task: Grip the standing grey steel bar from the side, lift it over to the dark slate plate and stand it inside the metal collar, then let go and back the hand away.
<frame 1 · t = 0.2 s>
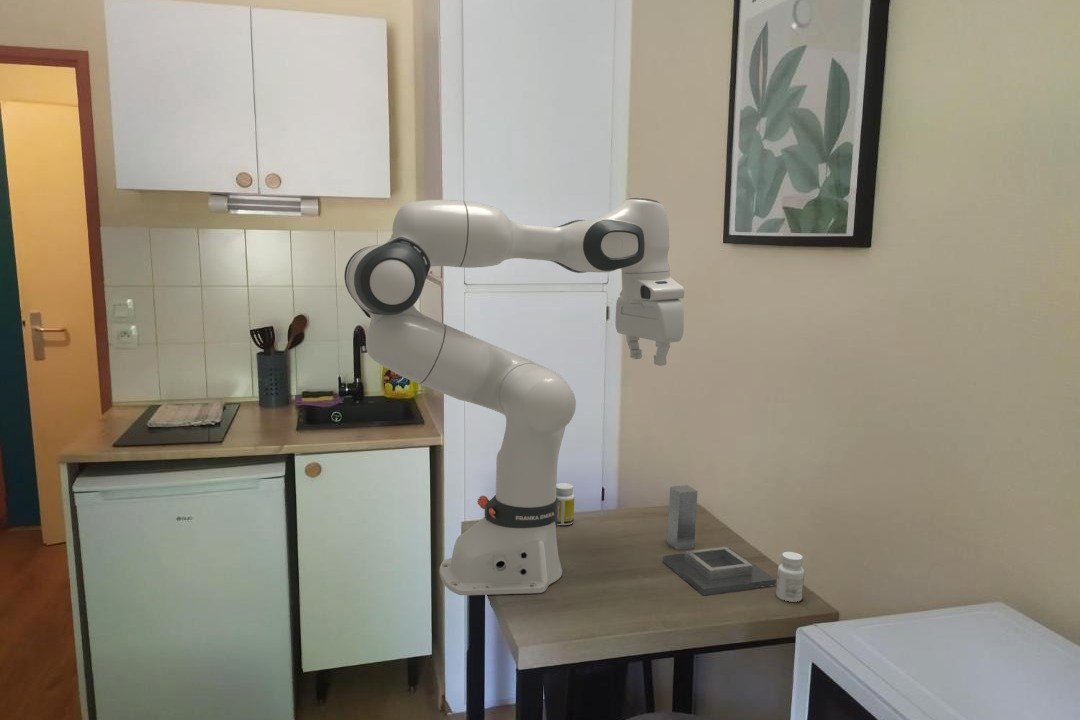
hand: (647, 361, 142), 39 cm above the table, tool pointing down, fingers open, 8 cm apart
steel bar: (680, 545, 156), on the table
pill bottle: (788, 598, 134), on the table
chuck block: (717, 573, 143), on the table
supplement bottle: (562, 523, 166), on the table
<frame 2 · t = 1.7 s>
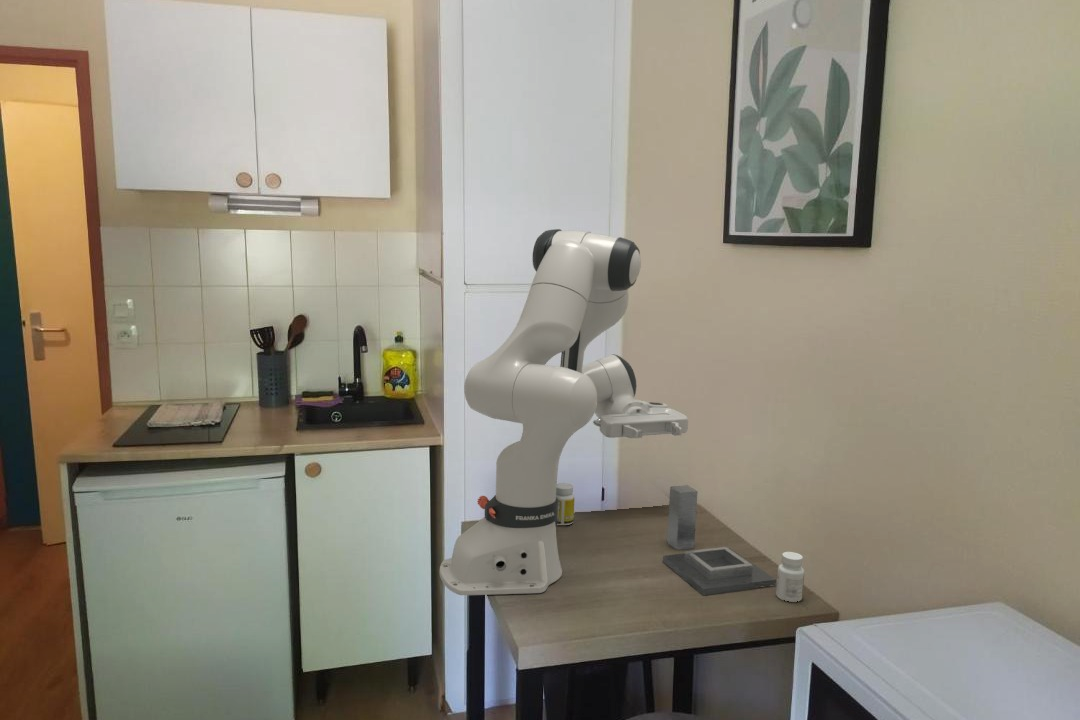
hand: (659, 433, 164), 21 cm above the table, tool horizontal, fingers open, 8 cm apart
nothing on the table moved.
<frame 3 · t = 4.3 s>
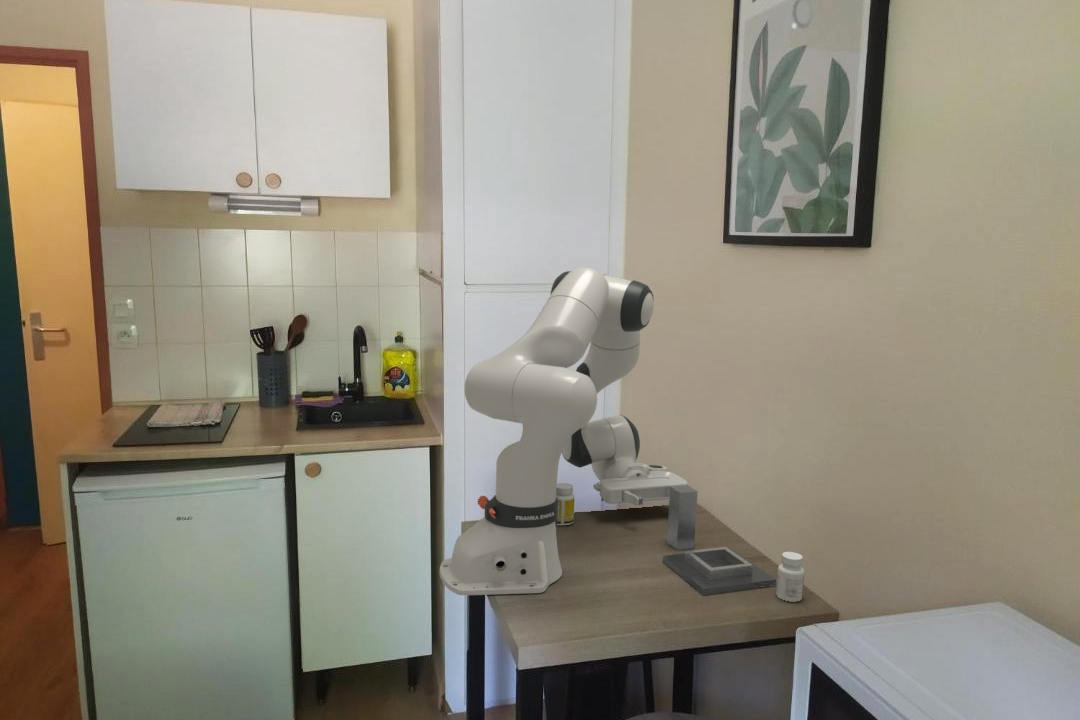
hand: (659, 500, 164), 6 cm above the table, tool horizontal, fingers open, 8 cm apart
nothing on the table moved.
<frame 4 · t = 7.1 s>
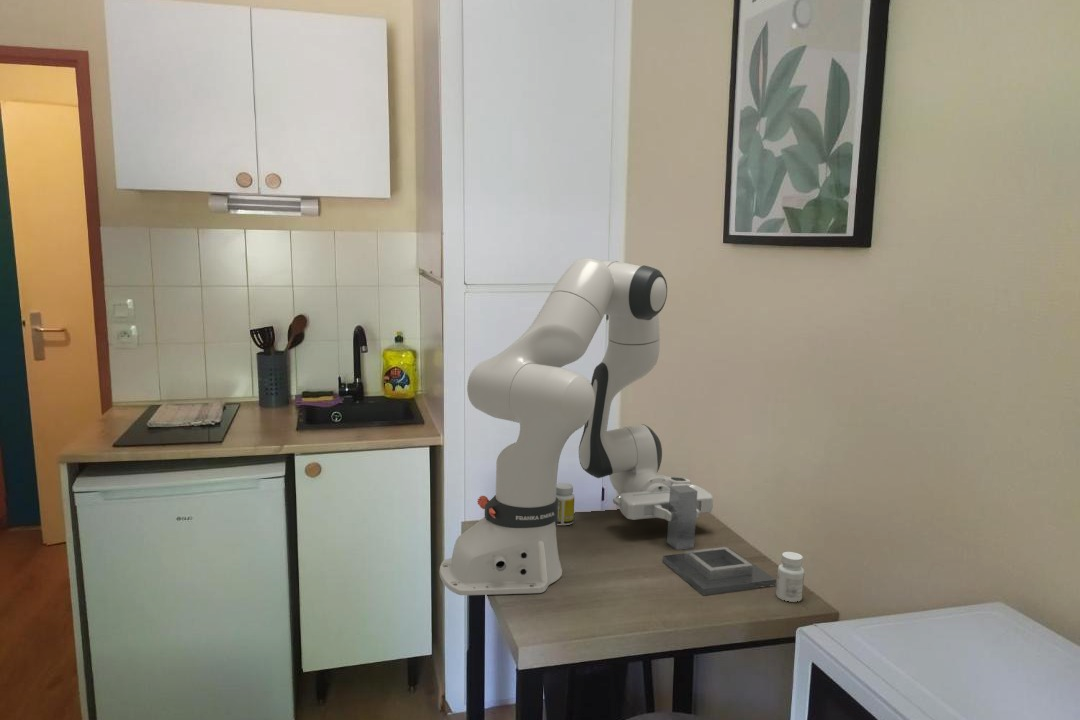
hand: (684, 516, 154), 7 cm above the table, tool horizontal, fingers closed on steel bar, 4 cm apart
steel bar: (680, 545, 156), on the table, touching gripper
everything else where it was.
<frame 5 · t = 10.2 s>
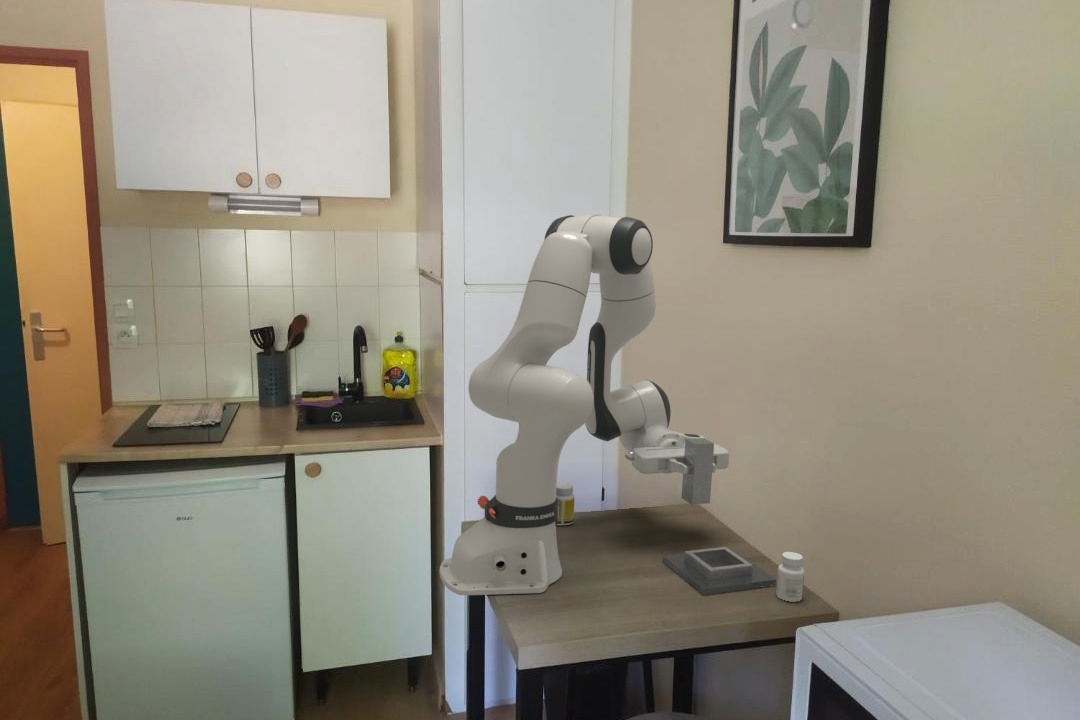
hand: (700, 469, 147), 18 cm above the table, tool horizontal, fingers closed on steel bar, 4 cm apart
steel bar: (695, 500, 149), point 11 cm above the table, touching gripper
everything else where it was.
when the fingers open (9 cm above the table, at t = 13.4 s): steel bar drops 1 cm, resting on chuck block.
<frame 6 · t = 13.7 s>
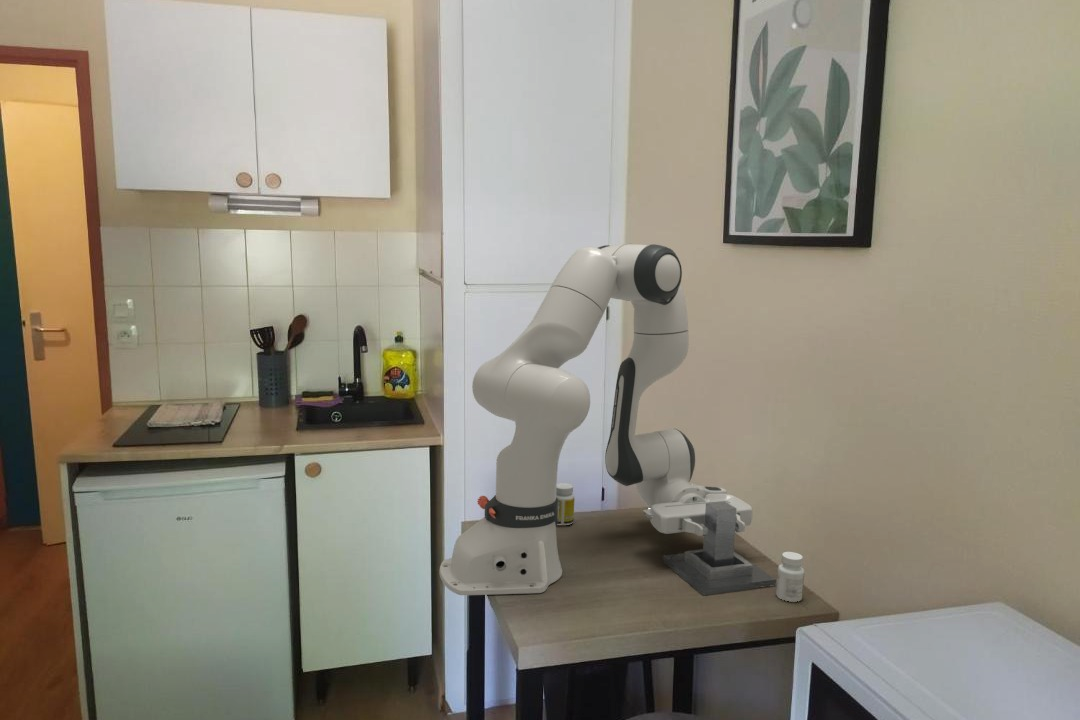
hand: (723, 530, 140), 9 cm above the table, tool horizontal, fingers open, 7 cm apart
steel bar: (717, 567, 142), point 1 cm above the table, touching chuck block
everything else where it was.
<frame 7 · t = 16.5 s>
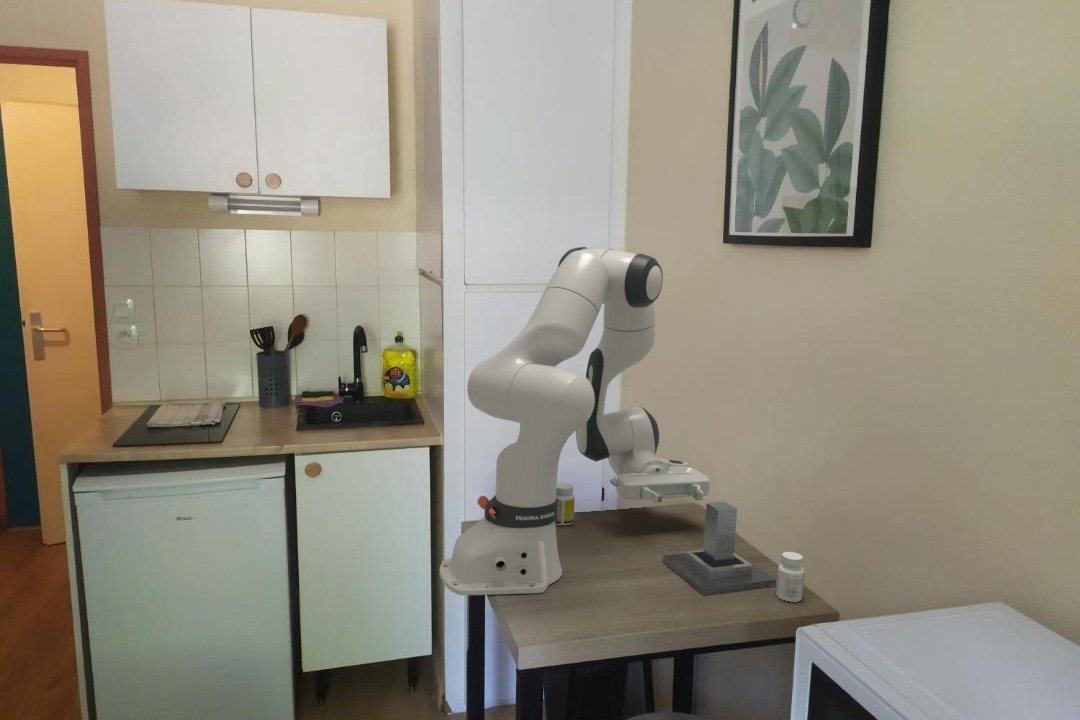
hand: (680, 497, 155), 10 cm above the table, tool horizontal, fingers open, 8 cm apart
nothing on the table moved.
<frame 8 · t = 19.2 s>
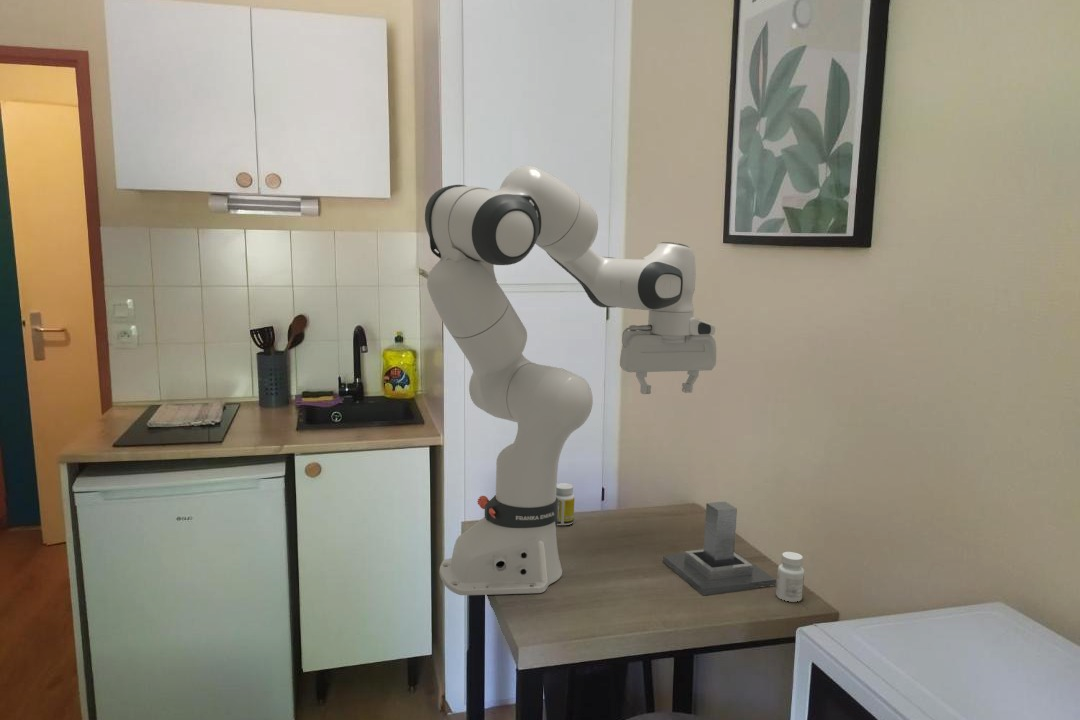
hand: (666, 393, 154), 31 cm above the table, tool pointing down, fingers open, 8 cm apart
nothing on the table moved.
at the end: steel bar 0.1 cm off-centre on the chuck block, point 1.2 cm above the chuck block's base; steel bar tilted 0°; the gripper is holding nothing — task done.
